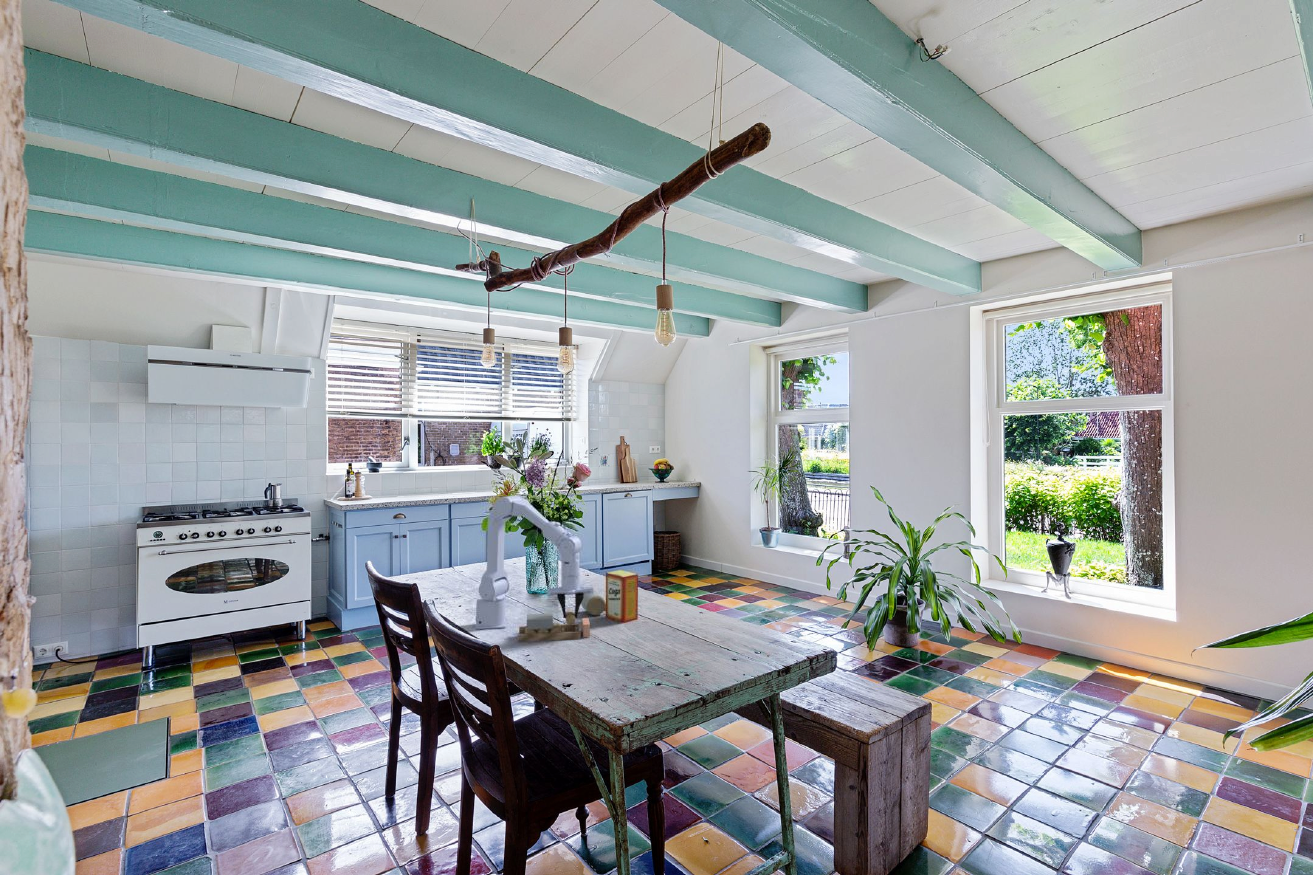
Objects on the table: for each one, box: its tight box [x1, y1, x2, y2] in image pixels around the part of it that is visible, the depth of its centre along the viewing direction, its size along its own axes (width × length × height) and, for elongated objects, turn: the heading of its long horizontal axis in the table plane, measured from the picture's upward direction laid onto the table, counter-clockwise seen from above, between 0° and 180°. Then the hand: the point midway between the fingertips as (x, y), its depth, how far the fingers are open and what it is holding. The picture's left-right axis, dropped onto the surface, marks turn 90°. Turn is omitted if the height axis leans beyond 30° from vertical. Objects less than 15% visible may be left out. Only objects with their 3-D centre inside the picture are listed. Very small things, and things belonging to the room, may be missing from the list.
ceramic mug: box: [580, 589, 606, 616], centre depth 226 cm, size 11×8×8 cm
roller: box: [565, 609, 576, 625], centre depth 201 cm, size 6×3×3 cm, turn 11°
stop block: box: [581, 617, 591, 638], centre depth 202 cm, size 2×7×4 cm, turn 10°
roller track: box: [517, 622, 581, 643], centre depth 200 cm, size 19×9×3 cm, turn 101°
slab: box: [526, 612, 554, 630], centre depth 200 cm, size 8×6×3 cm
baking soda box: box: [605, 569, 639, 624], centre depth 220 cm, size 10×6×16 cm
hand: (570, 617), depth 201 cm, fingers closed on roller, 3 cm apart
